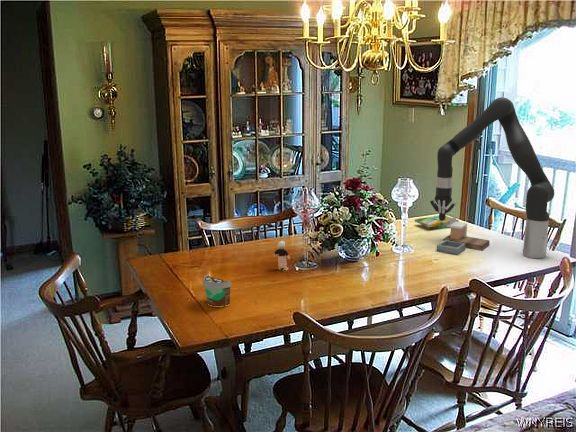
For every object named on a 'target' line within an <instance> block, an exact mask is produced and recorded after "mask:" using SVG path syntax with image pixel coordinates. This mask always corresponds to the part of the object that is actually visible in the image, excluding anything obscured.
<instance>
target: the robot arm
mask: <svg viewBox="0 0 576 432" xmlns="http://www.w3.org/2000/svg"><path fill="white" fill-rule="evenodd" d="M518 118H519V117H518V115H517V113H516V109H515V105H514V103H513V101H511V99H509V98H507V97H502V96H501V97H497V98H495V99H494V100H493V101H492V102H491V103H490V104H489V105H488V106H487V107H486V108H485V110H484V111H483V112H482V113H480V115H478V117H476V118H475V119H474V120H473V121H472V122H470V123H469V124H467V126H465V127H464V128H462V129H461V130H460V131H458V133H457V134H455V135H454V136H453V137H452V138H451V139H449V140H448V141H447V142H446V143H444V144H443V145H442V146H440V147H439V148H438V150H437V155H436V156H437V157H436V159H437V172H436V175H437V176H436V181H435V182H436V183H435V196H434V199H432V200H430V201H429V202H430V204H431V206H432V207H433V209H434V211H435V212H437V213H438V216H439V219H440V221H444V220H445V218H446V216H447V214H448V213H450V212H451V211H452V210H453V209H454V208H455V207H456V205H457V203H456V202H454V201H453V198H452V194H453V165H452V163H453V157H454V156H455V155H456V154H457V153H458V152H460V151H461V150H462V149H463V148H465V147H467V146H468V145H470V143H472V142H473V141H475V140H476V138H478V137H479V136H480V134H482V132H483V131H484V130H485V129H486V128H487V127H489V126H490V125H492V124H493V123H494V122H497V121H498V122H499V124H500V125H501V128H502V130H503V131H504V135H505V140H506V143H507V148H508V150H509V152H510V154H511V156H512V159H513V161H514V163H515V164H516V165H517V166H518V167H519V169H520V170H522V171H523V173H524V174H525V175H526V177H527V178H528V181H529V182H530V183H529V184H530V185H531V186H530V187H529V188H528V190H527V192H526V198H525V213H526V219H525V227H524V235H523V236H524V237H523V246H522V247H523V248H522V255H523V256H524V257H526V258H532V259H544V258H545V257H546V256H547V249H548V242H549V241H548V240H549V235H548V230H549V221H550V213H549V212H548V203H549V202H551V201H552V200H553V199H554V197H555V189H554V187H553V185H552V183H551V182H550V179H549V178H548V177H547V175H546V173H545V172H544V170H543V168H542V166H541V163H540V161H539V159H538V157H537V155H536V151H535V150H534V147H533V146H532V143H531V141H530V139H529V137H528V135H527V134H526V133H527V132H525V130H524V128H523V127H522V124H521V122H520V121H519V119H518ZM448 206H449V207H448Z"/></svg>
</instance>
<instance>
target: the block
mask: <svg viewBox="0 0 576 432" xmlns="http://www.w3.org/2000/svg"><path fill="white" fill-rule="evenodd" d="M449 235H450V239H456V240H461V239H462V238H463V228H462V229H458V228H452V227H450V234H449Z"/></svg>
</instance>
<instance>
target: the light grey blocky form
mask: <svg viewBox="0 0 576 432" xmlns="http://www.w3.org/2000/svg"><path fill="white" fill-rule="evenodd" d="M450 218H451V219H450V220H448V221H447V228H451V227H452V228H458V229H462V228H463V237H466V236H467V235H468V223H467V222H461V221H459V222H456V220H457V217H455V216H453V217H450Z"/></svg>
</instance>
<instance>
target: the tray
mask: <svg viewBox="0 0 576 432" xmlns="http://www.w3.org/2000/svg"><path fill="white" fill-rule="evenodd" d="M465 245H466V244H465V243H460V242H454V241H449V240H444V241H440V242H439V243H438V244H436V248H435V249H436V252H439V253H444V254H449V255H454V256H458V255H460V254H461V253H462V252H465V250H466V248H465Z"/></svg>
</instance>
